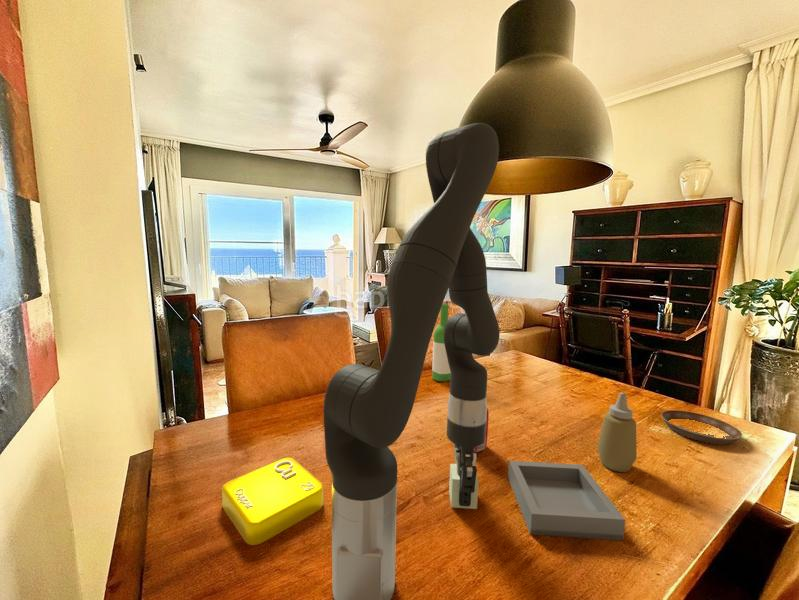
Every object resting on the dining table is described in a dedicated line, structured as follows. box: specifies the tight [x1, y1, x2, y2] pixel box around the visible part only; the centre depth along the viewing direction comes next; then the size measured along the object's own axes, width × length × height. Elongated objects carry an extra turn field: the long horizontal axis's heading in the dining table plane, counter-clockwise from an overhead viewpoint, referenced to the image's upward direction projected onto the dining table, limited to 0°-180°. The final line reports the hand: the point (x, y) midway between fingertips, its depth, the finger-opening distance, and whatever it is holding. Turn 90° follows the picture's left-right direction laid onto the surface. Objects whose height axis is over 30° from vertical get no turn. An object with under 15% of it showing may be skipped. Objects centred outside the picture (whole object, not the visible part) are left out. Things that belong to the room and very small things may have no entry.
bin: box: [507, 460, 626, 541], centre depth 69 cm, size 16×16×4 cm
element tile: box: [221, 457, 324, 546], centre depth 68 cm, size 15×15×5 cm
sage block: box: [448, 463, 480, 510], centre depth 70 cm, size 5×5×6 cm
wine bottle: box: [431, 303, 451, 382], centre depth 137 cm, size 8×8×30 cm
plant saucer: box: [661, 409, 743, 446], centre depth 100 cm, size 18×18×3 cm
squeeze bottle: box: [596, 392, 637, 473], centre depth 82 cm, size 8×8×18 cm
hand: (462, 494), depth 70 cm, fingers closed on sage block, 5 cm apart
